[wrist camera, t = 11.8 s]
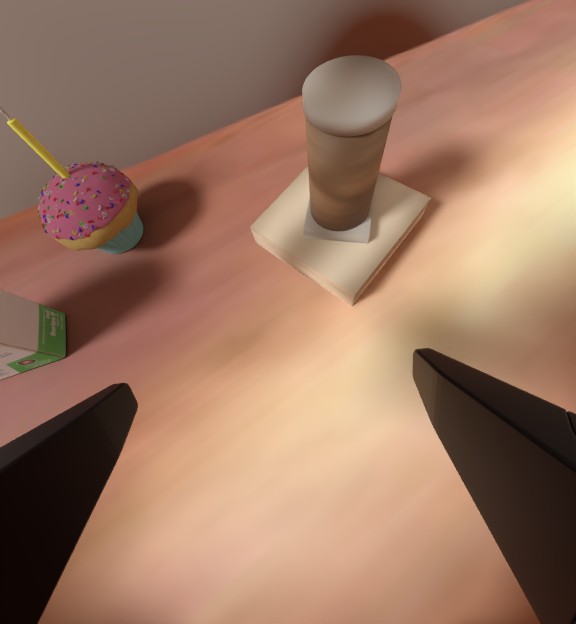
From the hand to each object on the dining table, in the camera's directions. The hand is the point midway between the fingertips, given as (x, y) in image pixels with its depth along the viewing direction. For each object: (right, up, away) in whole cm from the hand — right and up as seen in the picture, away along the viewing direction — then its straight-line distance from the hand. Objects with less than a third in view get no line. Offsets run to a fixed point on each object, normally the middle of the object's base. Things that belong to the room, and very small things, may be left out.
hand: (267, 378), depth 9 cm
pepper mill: (+5, +10, +15) cm, 19 cm away
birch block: (+5, +10, +18) cm, 21 cm away
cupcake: (-17, +10, +21) cm, 29 cm away
